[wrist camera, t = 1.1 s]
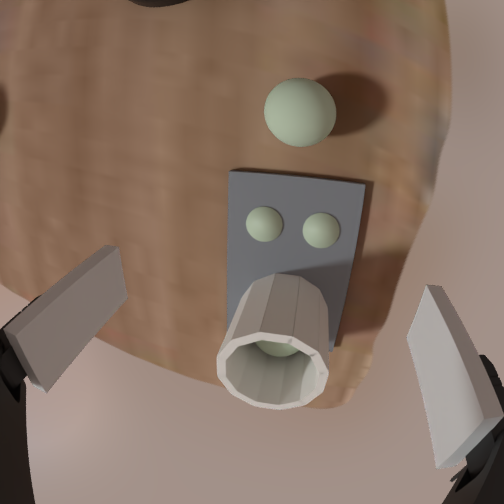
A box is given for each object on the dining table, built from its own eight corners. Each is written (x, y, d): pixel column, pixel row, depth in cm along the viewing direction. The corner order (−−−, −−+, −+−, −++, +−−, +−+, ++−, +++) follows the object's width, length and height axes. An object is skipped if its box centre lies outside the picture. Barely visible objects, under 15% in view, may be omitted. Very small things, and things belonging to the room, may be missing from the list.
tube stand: (231, 170, 30) (189, 194, 20) (364, 183, 28) (390, 215, 18) (228, 333, 38) (202, 397, 28) (332, 347, 36) (332, 416, 26)
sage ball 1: (258, 285, 33) (247, 317, 28) (314, 292, 32) (312, 326, 27) (255, 329, 36) (245, 363, 30) (306, 336, 35) (303, 371, 29)
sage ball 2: (270, 81, 25) (260, 70, 20) (335, 86, 24) (341, 76, 19) (268, 142, 28) (256, 146, 22) (331, 147, 27) (336, 153, 21)
